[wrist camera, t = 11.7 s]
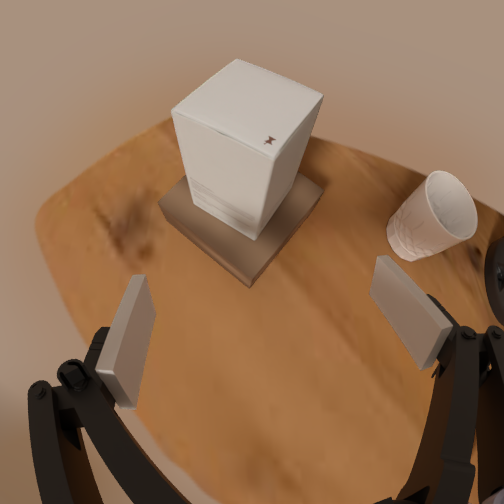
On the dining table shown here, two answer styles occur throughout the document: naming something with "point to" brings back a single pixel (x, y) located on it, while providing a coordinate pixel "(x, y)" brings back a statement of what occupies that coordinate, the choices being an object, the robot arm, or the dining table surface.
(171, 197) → the walnut block
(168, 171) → the dining table surface
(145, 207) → the dining table surface
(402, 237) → the white cup
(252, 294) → the dining table surface
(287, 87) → the supplement box
